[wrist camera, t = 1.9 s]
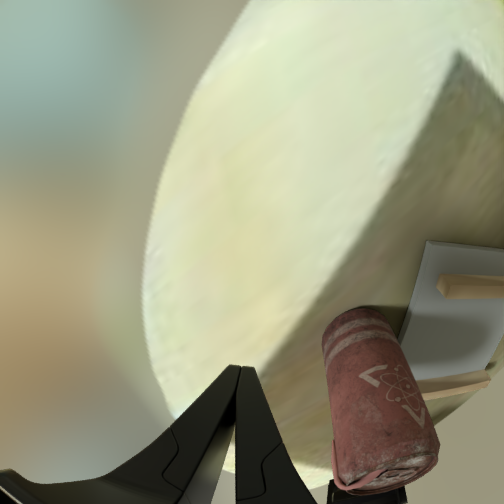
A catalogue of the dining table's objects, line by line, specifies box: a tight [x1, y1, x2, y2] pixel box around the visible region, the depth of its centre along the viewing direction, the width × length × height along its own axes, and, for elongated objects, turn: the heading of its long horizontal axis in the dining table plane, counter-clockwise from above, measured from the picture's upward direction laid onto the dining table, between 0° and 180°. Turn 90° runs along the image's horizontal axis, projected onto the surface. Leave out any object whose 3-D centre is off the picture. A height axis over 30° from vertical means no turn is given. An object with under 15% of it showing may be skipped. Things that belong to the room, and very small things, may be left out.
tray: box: [397, 240, 504, 400], centre depth 21 cm, size 18×14×3 cm
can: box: [322, 308, 440, 495], centre depth 16 cm, size 6×6×14 cm
